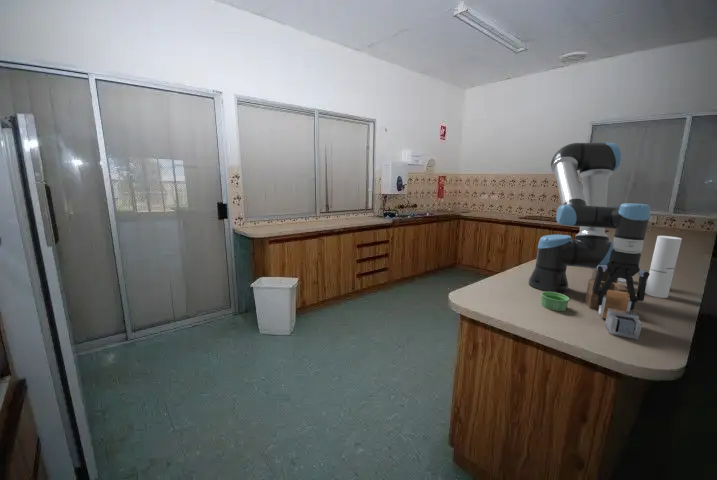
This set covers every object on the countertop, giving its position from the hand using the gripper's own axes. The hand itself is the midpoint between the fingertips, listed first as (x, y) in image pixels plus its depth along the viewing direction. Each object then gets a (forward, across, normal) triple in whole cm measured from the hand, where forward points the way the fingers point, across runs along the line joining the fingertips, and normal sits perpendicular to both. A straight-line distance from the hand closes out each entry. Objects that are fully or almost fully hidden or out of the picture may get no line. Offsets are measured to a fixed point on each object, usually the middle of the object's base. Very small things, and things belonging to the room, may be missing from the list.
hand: (612, 315), depth 106 cm
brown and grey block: (+1, 0, -4) cm, 4 cm away
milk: (+2, +17, +58) cm, 60 cm away
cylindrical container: (+2, +24, +41) cm, 47 cm away
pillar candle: (+2, +7, +47) cm, 47 cm away
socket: (+1, 0, +12) cm, 12 cm away
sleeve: (+1, 0, -10) cm, 10 cm away
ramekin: (+2, -17, +3) cm, 17 cm away
